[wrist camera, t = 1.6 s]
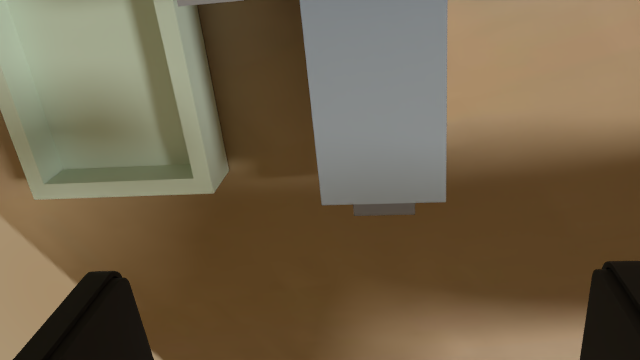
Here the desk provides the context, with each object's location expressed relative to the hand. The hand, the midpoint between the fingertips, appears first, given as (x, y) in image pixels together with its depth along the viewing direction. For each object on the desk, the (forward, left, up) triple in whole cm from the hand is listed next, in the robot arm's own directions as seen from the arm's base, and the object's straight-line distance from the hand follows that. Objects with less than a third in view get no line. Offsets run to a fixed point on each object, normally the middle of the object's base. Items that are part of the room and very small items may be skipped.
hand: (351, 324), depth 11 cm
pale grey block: (0, -4, -15) cm, 16 cm away
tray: (+12, -5, -15) cm, 20 cm away
